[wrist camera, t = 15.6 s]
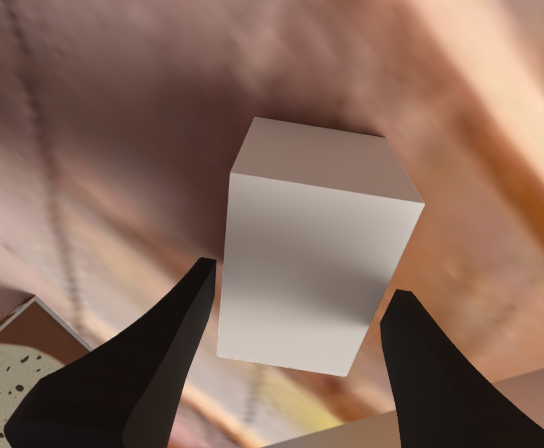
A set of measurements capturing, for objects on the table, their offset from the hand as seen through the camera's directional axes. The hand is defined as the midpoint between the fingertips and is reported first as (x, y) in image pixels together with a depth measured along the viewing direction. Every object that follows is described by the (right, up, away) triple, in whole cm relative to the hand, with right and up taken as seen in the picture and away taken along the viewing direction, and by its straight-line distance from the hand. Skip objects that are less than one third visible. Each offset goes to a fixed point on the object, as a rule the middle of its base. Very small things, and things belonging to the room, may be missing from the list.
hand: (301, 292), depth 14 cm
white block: (0, +3, +5) cm, 6 cm away
